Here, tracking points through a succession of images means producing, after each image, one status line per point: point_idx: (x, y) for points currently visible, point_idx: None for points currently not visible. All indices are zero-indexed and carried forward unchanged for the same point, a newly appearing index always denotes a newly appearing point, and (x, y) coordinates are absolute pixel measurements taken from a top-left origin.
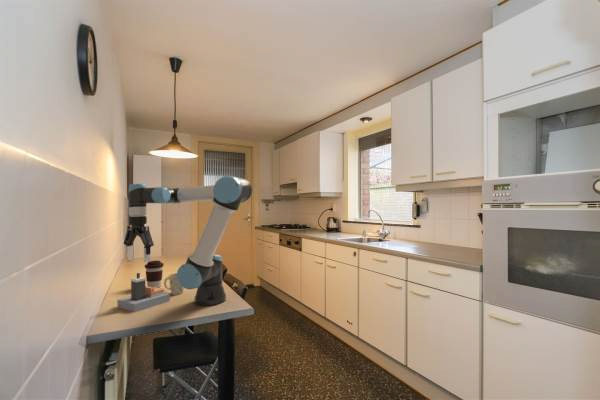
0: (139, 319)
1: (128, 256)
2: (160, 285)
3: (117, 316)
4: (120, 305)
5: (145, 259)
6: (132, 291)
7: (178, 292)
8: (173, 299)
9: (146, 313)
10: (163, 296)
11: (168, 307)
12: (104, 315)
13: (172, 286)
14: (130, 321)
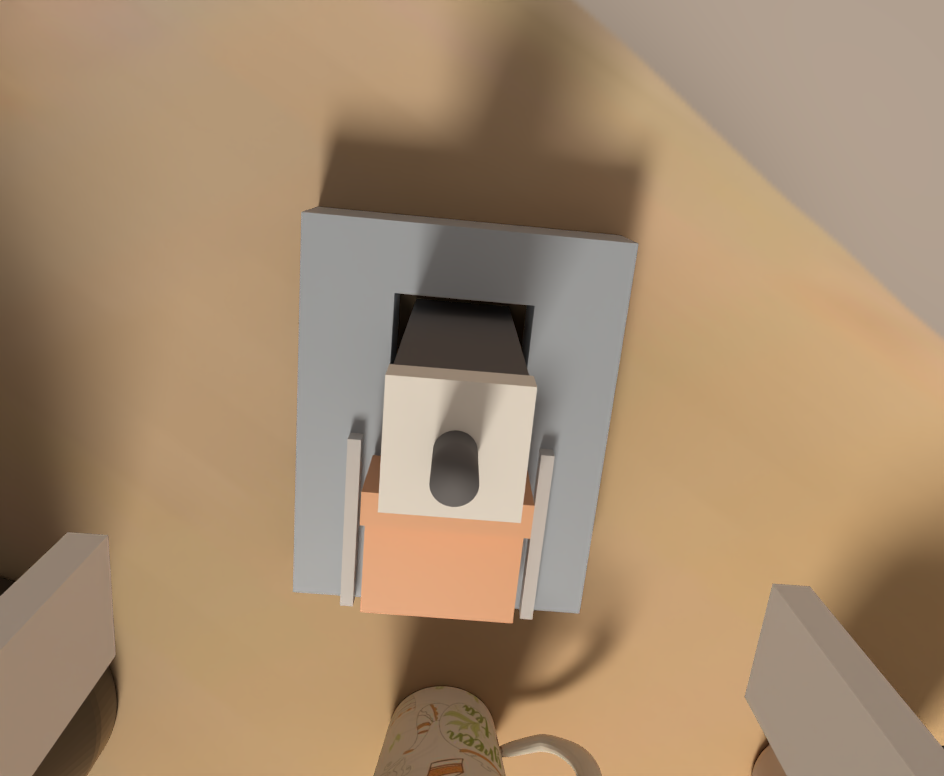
0: (86, 85)
1: (802, 643)
2: None
3: (362, 47)
4: (571, 232)
5: (33, 576)
6: (492, 340)
7: (393, 718)
8: (314, 595)
9: (184, 229)
10: (296, 524)
11: (153, 426)
12: (513, 8)
13: (431, 737)
14: (111, 7)
